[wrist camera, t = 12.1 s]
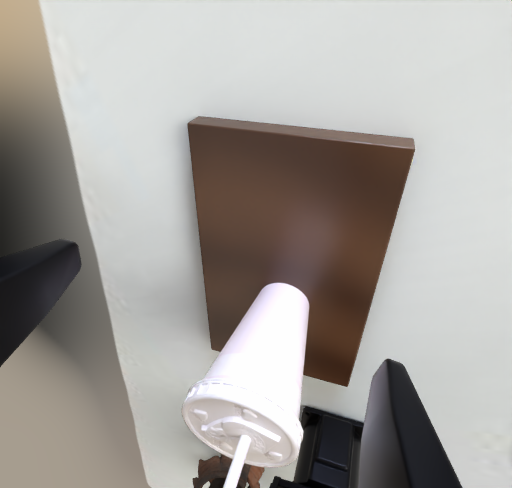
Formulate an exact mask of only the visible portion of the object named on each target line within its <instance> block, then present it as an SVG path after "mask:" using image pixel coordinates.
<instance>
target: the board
mask: <svg viewBox="0 0 512 488" xmlns="http://www.w3.org/2000/svg"><path fill="white" fill-rule="evenodd" d="M188 133H189V143H190V152H191V161H192V171H193V180H194V190H195V199H196V208H197V218H198V227H199V236H200V246H201V255H202V264H203V274H204V283H205V292H206V302H207V311H208V320H209V330H210V339H211V349H212V350H216V351H219V352H221V351H222V349H223V348H224V346H225V345H226V343H227V342H228V340H229V339H230V337H231V336H232V334H233V333H234V331H235V329H236V328H237V326H238V325H239V323H240V322H241V320H242V319H243V317H244V316H245V314H246V313H247V311H248V310H249V308H250V307H251V305H252V304H253V302H254V301H255V299H256V298H257V296H258V295H259V293H260V291H261V290H262V289H263V288H264V287H265V286H267V285H269V284H272V283H285V284H288V285H291V286H293V287H295V288H297V289H299V290H300V291H301V292H302V293H303V294H304V295H305V296H306V298H307V300H308V302H309V316H308V327H307V338H306V348H305V359H304V370H303V375H306V376H309V377H313V378H317V379H320V380H324V381H327V382H331V383H335V384H338V385H342V386H345V387H348V384H349V381H350V377H351V374H352V370H353V367H354V363H355V360H356V356H357V353H358V349H359V346H360V342H361V338H362V335H363V331H364V328H365V324H366V321H367V317H368V314H369V310H370V307H371V303H372V300H373V296H374V293H375V289H376V286H377V282H378V279H379V275H380V272H381V268H382V264H383V261H384V257H385V254H386V250H387V247H388V243H389V240H390V236H391V233H392V229H393V226H394V222H395V219H396V215H397V212H398V208H399V205H400V201H401V198H402V194H403V190H404V187H405V183H406V180H407V176H408V173H409V169H410V166H411V162H412V159H413V155H414V152H415V145H414V139H412V138H402V137H393V136H383V135H373V134H364V133H354V132H345V131H335V130H326V129H316V128H306V127H297V126H287V125H278V124H268V123H259V122H249V121H239V120H230V119H220V118H211V117H201V116H198V117H197V118H195V119H194V120H192V121H191V122H189V123H188Z"/></svg>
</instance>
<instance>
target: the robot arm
mask: <svg viewBox="0 0 512 488" xmlns="http://www.w3.org/2000/svg"><path fill="white" fill-rule="evenodd" d="M80 268H81V258H80V253H79V248H78V245H77V244H76V243H75V242H72V241H70V240H67V239H59V240H56V241H53V242H49V243H46V244H42V245H39V246H36V247H33V248H29V249H26V250H23V251H19V252H16V253H13V254H10V255H7V256H3V257H0V367H1V365H2V364H3V363H4V362H5V361H6V360H7V359H8V358H9V356H10V355H11V354H12V353H13V352H14V351H15V350H16V349H17V348H18V347H19V345H20V344H21V343H22V342H23V341H24V340H25V339H26V338H27V337H28V335H29V334H30V333H31V332H32V331H33V330H34V329H35V328H36V326H37V325H38V324H39V323H40V322H41V321H42V320H43V319H44V318H45V316H46V315H47V314H48V313H49V312H50V310H51V309H52V308H53V306H54V305H55V304H56V302H57V301H58V300H59V298H60V297H61V295H62V294H63V293H64V291H65V290H66V289H67V287H68V286H69V284H70V283H71V282H72V280H73V279H74V278H75V276H76V275H77V274H78V272H79V271H80ZM301 426H302V429H303V440H302V442H301V447H300V451H299V456H298V461H297V466H296V471H295V476H294V481H293V482H291V481H288V480H284V479H281V477H277V476H275V477H274V480H273V483H271V484H270V487H269V488H462V486H461V484H460V482H459V480H458V477H457V475H456V473H455V471H454V469H453V467H452V465H451V463H450V461H449V459H448V457H447V454H446V452H445V450H444V448H443V446H442V444H441V442H440V440H439V438H438V436H437V433H436V431H435V429H434V427H433V425H432V423H431V421H430V419H429V417H428V415H427V413H426V410H425V408H424V406H423V404H422V402H421V400H420V398H419V396H418V394H417V392H416V390H415V387H414V385H413V383H412V381H411V379H410V377H409V375H408V373H407V371H406V369H405V367H404V365H403V364H401V363H399V362H396V361H394V360H391V359H386V360H385V361H384V362H383V363H382V365H381V366H380V367H379V369H378V370H377V371H376V373H375V374H374V376H373V378H372V382H371V387H370V392H369V398H368V404H367V410H366V415H365V421H364V424H363V423H360V422H356V421H353V420H350V419H346V418H343V417H340V416H336V415H333V414H330V413H326V412H323V411H320V410H316V409H313V408H310V407H304V409H303V414H302V420H301Z"/></svg>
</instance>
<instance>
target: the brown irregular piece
mask: <svg viewBox="0 0 512 488" xmlns="http://www.w3.org/2000/svg"><path fill="white" fill-rule="evenodd" d="M232 460H233V459H232V458H229V457H227V456H225V455H223V454H222V455H221V457H219V456H214V457H212V458H210V459H208V460H206V461H203V460H202V459H200V460H199V466H198V475H199V476H198V478H197V477H196V478H193V485H194V488H202V487H203V485H204V484H205V483H206V482H208V481H209V482H210V486H209V488H223V486H224V483H225V480H226V477H227V475H228V472H229V469H230V466H231V463H232ZM263 472H264V467H259V466H254V465H249V464H246V463H244V465H243V468H242V471H241V474H240V477H239V480H238V484H237V487H236V488H245V487H246V483H247V482H248V484H249V486H248V488H260V484H259V483H258V481H259V479H260V477H261V475H262V473H263Z"/></svg>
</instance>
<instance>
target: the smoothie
mask: <svg viewBox="0 0 512 488" xmlns="http://www.w3.org/2000/svg"><path fill="white" fill-rule="evenodd" d="M308 316H309V302H308V300H307V298H306V296H305V295H304V294H303V293H302V292H301V291H300V290H299V289H297V288H295V287H293V286H291V285H288V284H285V283H272V284H269V285H267V286H265V287H264V288H263V289H262V290H261V291H260V293H259V295H258V296H257V298H256V299H255V301H254V302H253V304H252V305H251V307H250V308H249V310H248V311H247V313H246V314H245V316H244V317H243V319H242V320H241V322H240V323H239V325H238V326H237V328H236V329H235V331H234V333H233V334H232V336H231V337H230V339H229V340H228V342H227V343H226V345H225V346H224V348H223V349H222V351H221V352H220V354H219V355H218V357H217V358H216V360H215V361H214V363H213V364H212V366H211V367H210V369H209V370H208V372H207V374H206V375H205V377H204V378H203V380H201V381H199V382H196V383H194V384H193V386H192V387H191V388H190V389H189V391H188V396H187V398H186V400H185V402H184V403H183V406H182V416H183V419H184V421H185V423H186V425H187V426H188V428H189V429H190V430H191V431H192V432H193V433H194V435H195V436H196V437H198V438H199V439H200V440H201V441H202V442H204V443H205V444H206V445H208V446H209V447H211V448H212V449H214V450H216V451H217V452H219V453H221V454H223V455H225V456H227V457H229V458H232V459H233V460H232V463H231V466H230V469H229V472H228V475H227V477H226V480H225V483H224V486H223V488H236V487H237V484H238V480H239V477H240V474H241V471H242V468H243V465H244V463H246V464H249V465H254V466H259V467H268V468H274V467H282V466H286V465H288V464H291V463H292V462H294V461H295V460H296V459H297V457H298V454H299V448H300V443H301V442H302V440H303V429H302V426H301V423H300V421H299V413H300V404H301V392H302V381H303V370H304V359H305V348H306V338H307V327H308Z"/></svg>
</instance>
